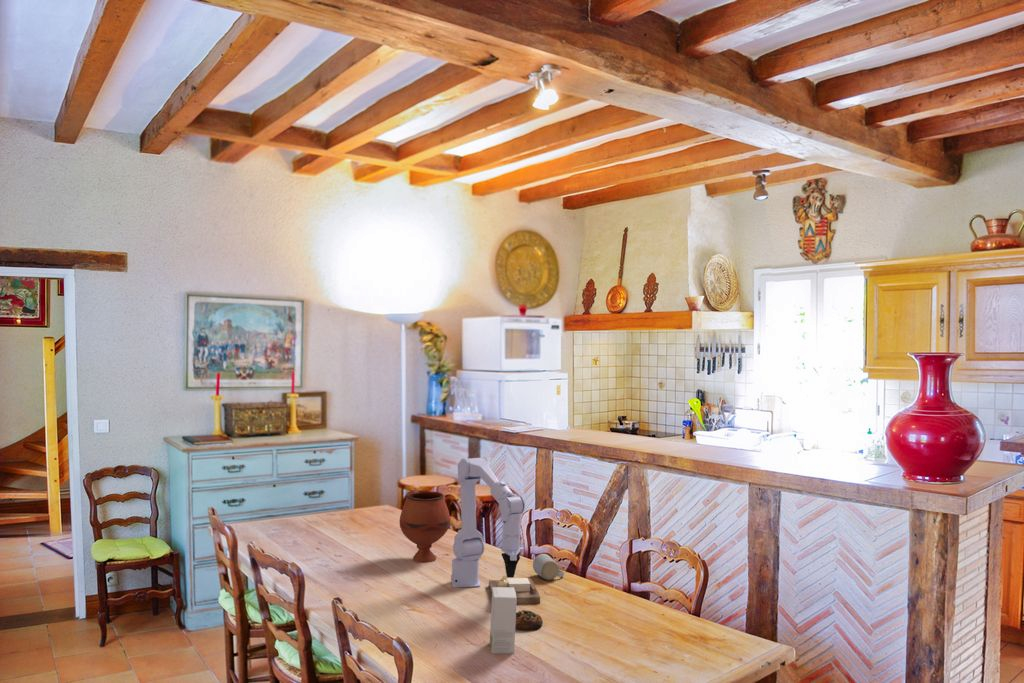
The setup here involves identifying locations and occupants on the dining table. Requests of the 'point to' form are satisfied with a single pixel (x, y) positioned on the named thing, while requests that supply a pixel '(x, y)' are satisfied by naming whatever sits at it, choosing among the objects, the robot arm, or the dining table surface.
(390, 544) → the dining table surface
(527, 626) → the bread roll
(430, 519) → the goblet
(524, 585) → the cream cover
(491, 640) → the skincare box
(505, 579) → the brass T-key
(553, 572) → the ceramic mug
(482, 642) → the dining table surface
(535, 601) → the board
